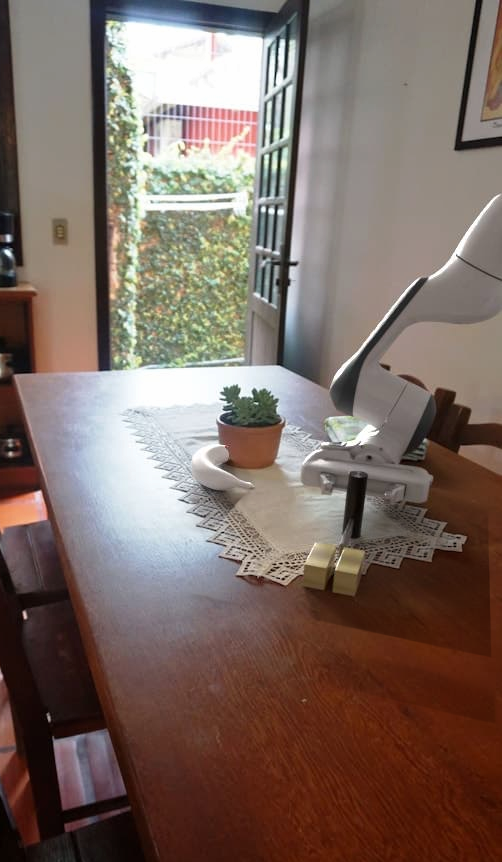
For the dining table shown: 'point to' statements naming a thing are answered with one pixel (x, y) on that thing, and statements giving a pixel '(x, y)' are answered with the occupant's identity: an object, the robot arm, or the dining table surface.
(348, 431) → the towel
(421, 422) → the robot arm
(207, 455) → the banana
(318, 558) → the slotted cream block
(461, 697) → the dining table surface
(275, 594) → the dining table surface
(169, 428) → the dining table surface
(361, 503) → the knife
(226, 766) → the dining table surface
